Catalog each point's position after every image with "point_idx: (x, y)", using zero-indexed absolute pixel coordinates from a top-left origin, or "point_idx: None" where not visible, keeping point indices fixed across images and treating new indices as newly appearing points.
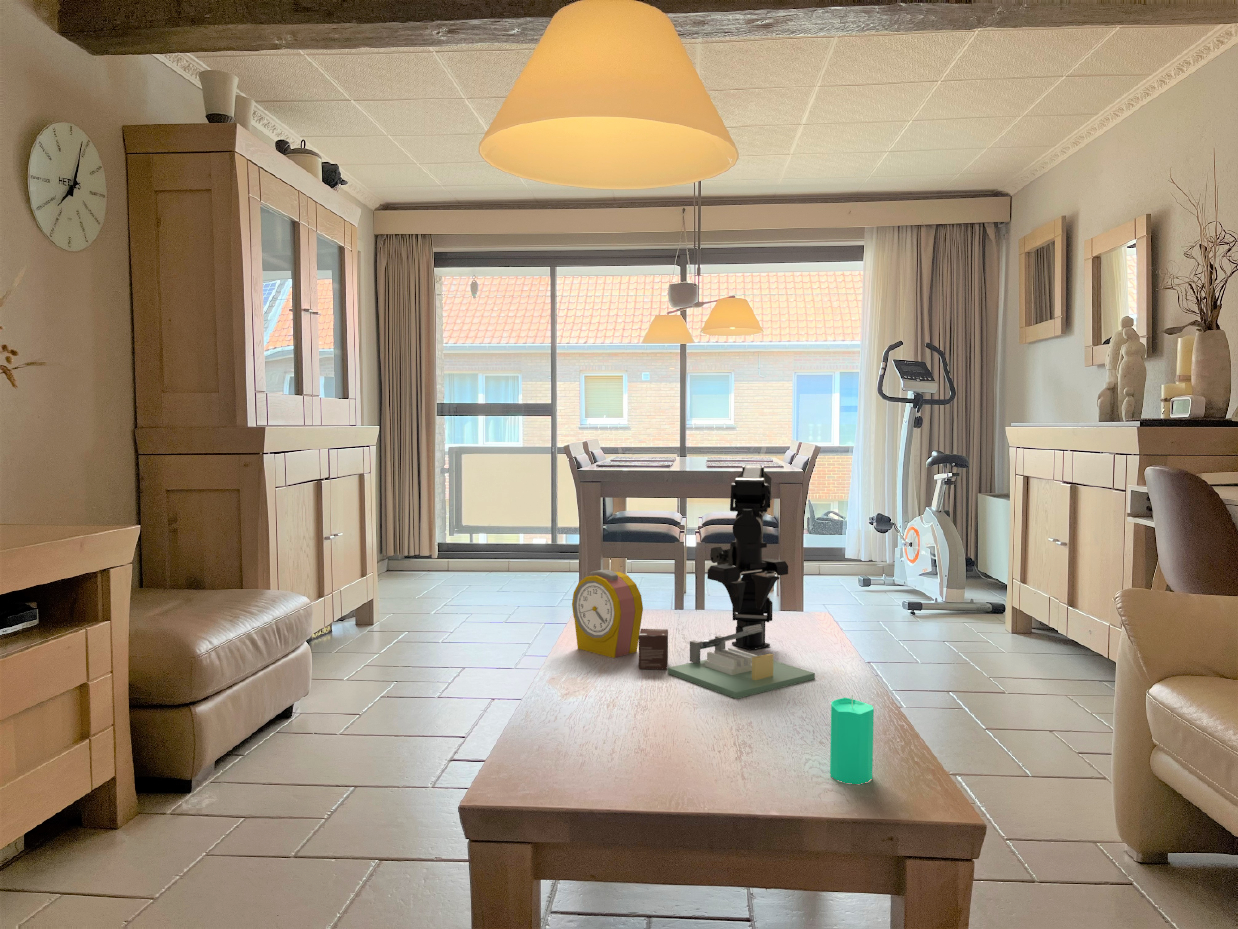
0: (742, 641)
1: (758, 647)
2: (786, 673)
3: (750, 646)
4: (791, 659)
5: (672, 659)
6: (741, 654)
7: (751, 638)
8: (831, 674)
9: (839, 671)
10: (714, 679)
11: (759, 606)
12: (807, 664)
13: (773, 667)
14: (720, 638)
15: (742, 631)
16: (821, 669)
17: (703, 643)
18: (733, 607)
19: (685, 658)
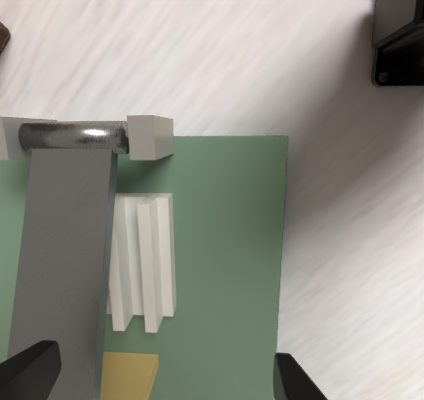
0: (380, 36)
1: (417, 85)
2: (205, 372)
3: (397, 62)
4: (387, 246)
5: (49, 6)
6: (119, 292)
7: (422, 55)
8: (341, 397)
9: (384, 395)
10: (4, 300)
11: (274, 398)
12: (376, 308)
13: (219, 319)
14: (19, 272)
15: (407, 17)
16: (362, 358)
17: (34, 155)
18: (6, 365)
19: (97, 23)
